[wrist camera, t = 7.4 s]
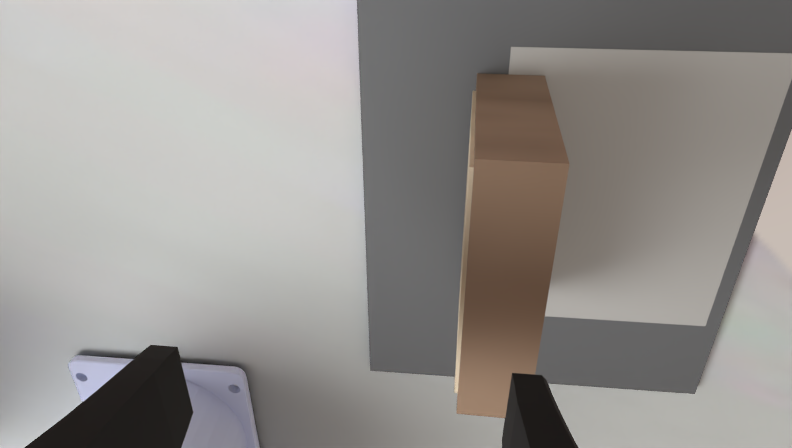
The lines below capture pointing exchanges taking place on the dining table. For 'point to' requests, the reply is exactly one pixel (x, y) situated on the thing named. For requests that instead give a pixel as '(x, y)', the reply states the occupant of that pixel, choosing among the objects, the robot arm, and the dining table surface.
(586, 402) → the dining table surface
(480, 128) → the walnut slab
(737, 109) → the charcoal mat
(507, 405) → the robot arm
